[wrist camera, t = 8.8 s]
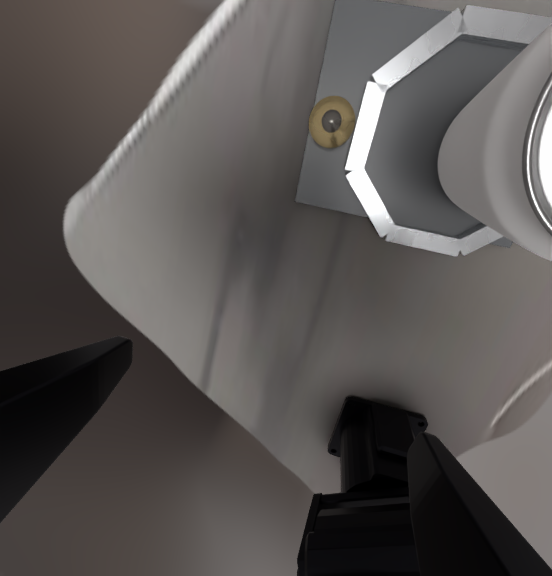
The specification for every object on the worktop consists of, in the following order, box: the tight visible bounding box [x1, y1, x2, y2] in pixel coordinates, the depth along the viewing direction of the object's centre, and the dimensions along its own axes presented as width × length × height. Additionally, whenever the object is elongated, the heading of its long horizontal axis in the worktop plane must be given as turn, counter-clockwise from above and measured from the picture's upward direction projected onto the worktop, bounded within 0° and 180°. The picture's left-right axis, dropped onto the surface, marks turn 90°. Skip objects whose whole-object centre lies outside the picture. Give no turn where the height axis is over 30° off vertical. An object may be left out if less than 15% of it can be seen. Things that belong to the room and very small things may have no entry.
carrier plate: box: [295, 0, 522, 248], centre depth 16 cm, size 10×13×1 cm
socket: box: [345, 5, 552, 257], centre depth 16 cm, size 11×11×1 cm
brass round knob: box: [309, 96, 355, 149], centre depth 16 cm, size 2×2×2 cm
